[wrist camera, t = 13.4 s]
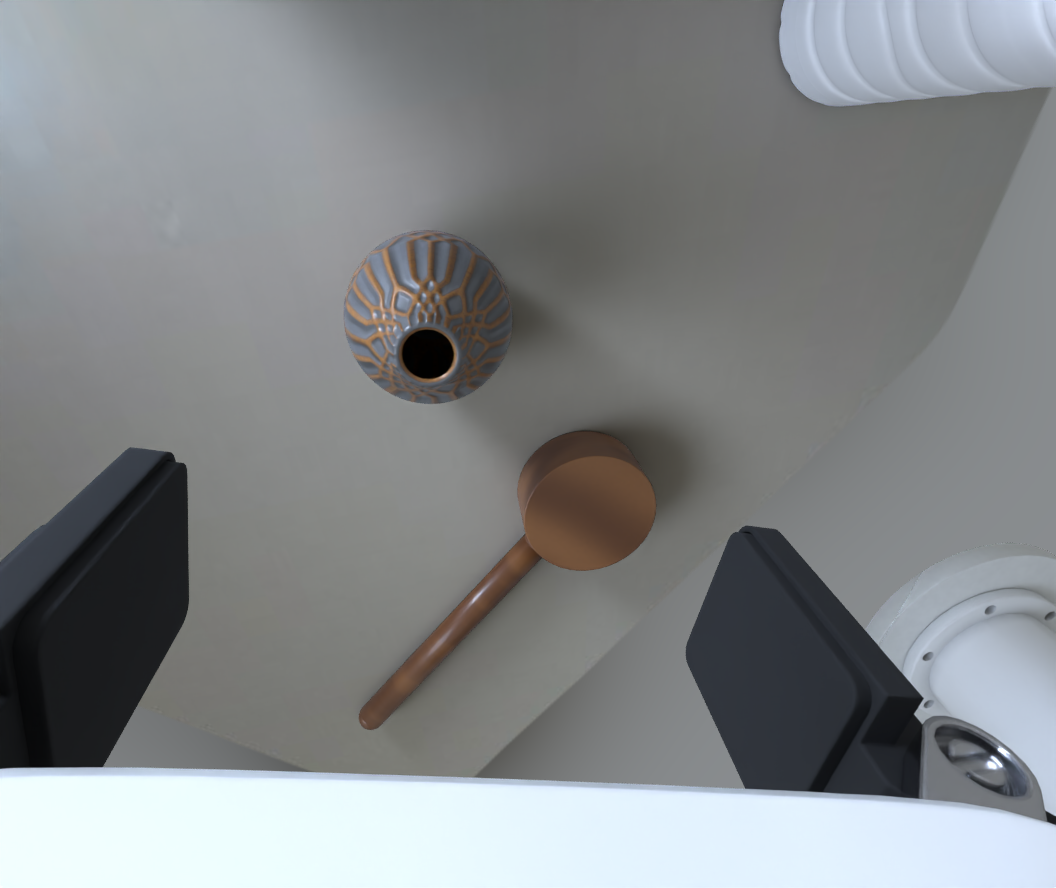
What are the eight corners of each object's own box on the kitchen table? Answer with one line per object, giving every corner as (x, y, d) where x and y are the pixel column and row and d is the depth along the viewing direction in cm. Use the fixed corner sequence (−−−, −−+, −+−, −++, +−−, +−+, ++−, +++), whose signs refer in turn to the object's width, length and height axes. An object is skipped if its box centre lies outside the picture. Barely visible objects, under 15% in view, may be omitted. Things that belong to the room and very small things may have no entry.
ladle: (575, 406, 33) (587, 429, 30) (664, 475, 35) (683, 503, 33) (318, 692, 39) (309, 732, 36) (410, 733, 41) (408, 773, 39)
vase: (532, 276, 29) (565, 324, 22) (456, 393, 31) (461, 476, 24) (401, 189, 27) (386, 207, 19) (329, 321, 29) (288, 387, 21)
